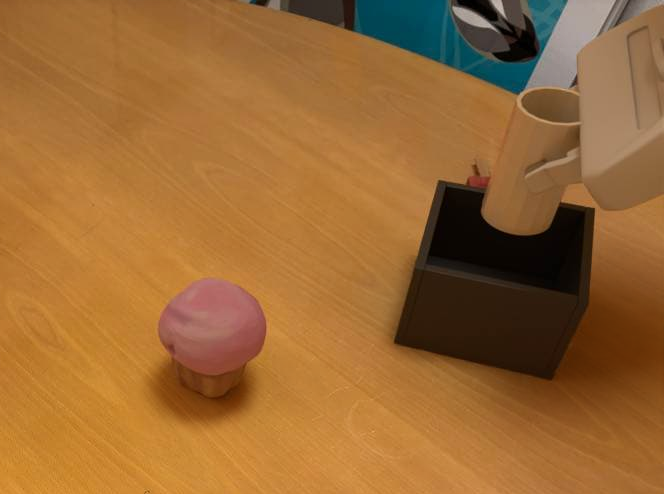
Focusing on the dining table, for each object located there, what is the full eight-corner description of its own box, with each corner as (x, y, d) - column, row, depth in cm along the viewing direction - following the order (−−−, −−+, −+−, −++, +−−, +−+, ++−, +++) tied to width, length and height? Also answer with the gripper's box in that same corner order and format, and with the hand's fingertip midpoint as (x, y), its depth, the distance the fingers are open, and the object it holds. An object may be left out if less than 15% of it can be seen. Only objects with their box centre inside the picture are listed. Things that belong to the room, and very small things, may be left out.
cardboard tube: (560, 208, 74) (605, 98, 66) (540, 243, 71) (585, 132, 63) (493, 188, 76) (529, 79, 68) (471, 221, 73) (506, 112, 65)
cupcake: (209, 332, 81) (214, 246, 73) (280, 381, 76) (293, 294, 69) (139, 381, 77) (136, 295, 70) (210, 435, 73) (215, 349, 65)
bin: (561, 284, 84) (595, 207, 77) (552, 380, 76) (589, 304, 69) (417, 254, 87) (438, 179, 81) (393, 343, 79) (414, 267, 73)
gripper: (687, -42, 65) (511, 67, 75) (721, 91, 52) (503, 202, 62) (725, 23, 68) (549, 121, 77) (765, 167, 55) (549, 262, 64)
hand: (528, 158), depth 69 cm, fingers closed on cardboard tube, 6 cm apart
